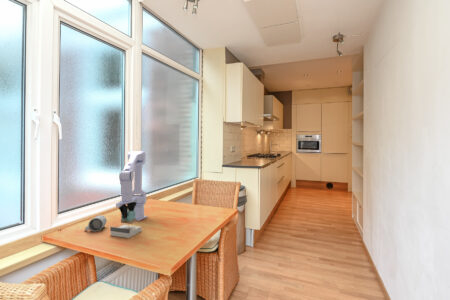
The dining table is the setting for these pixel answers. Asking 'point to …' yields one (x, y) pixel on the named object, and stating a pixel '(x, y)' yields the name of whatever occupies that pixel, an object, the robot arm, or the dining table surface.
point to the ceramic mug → (96, 223)
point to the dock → (125, 231)
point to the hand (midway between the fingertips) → (127, 216)
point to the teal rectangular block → (129, 217)
